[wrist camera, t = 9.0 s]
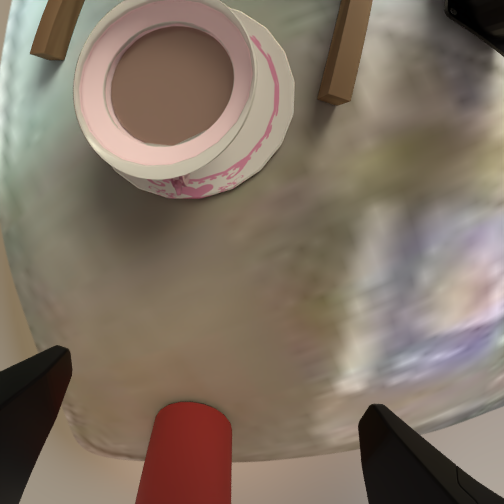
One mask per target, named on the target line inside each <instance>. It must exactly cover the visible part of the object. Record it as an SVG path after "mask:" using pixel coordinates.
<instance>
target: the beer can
mask: <svg viewBox="0 0 504 504" xmlns="http://www.w3.org/2000/svg"><path fill="white" fill-rule="evenodd" d="M231 464H232V428H231V423H230V422H229V421H228V419H227V418H226V417H225V415H224V414H222V413H221V412H219V411H218V410H217V409H215V408H213V407H210V406H208V405H206V404H202V403H197V402H177V403H173V404H169V405H168V406H166V407H164V408H163V409H161V410H160V411H159V413H158V414H157V416H156V418H155V422H154V426H153V430H152V434H151V438H150V442H149V446H148V450H147V454H146V458H145V463H144V467H143V471H142V475H141V480H140V485H139V489H138V493H137V497H136V502H135V504H231Z"/></svg>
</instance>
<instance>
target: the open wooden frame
mask: <svg viewBox="0 0 504 504" xmlns="http://www.w3.org/2000/svg"><path fill="white" fill-rule="evenodd" d="M84 1H85V0H48V2H47V5H46V8H45V10H44V13H43V15H42V18H41V21H40V24H39V26H38V29H37V32H36V35H35V38H34V41H33V45H32V48H31V51H30V54H31V55H35V56H38V57H41V58H44V59H47V60H64V59H65V56H66V52H67V49H68V46H69V43H70V39H71V36H72V33H73V30H74V27H75V25H76V22H77V19H78V16H79V14H80V11H81V8H82V6H83V3H84ZM372 1H373V0H341V4H340V8H339V13H338V17H337V21H336V25H335V29H334V33H333V38H332V42H331V46H330V50H329V54H328V58H327V62H326V66H325V70H324V74H323V78H322V82H321V86H320V90H319V94H318V98H317V100H321V101H324V102H327V103H330V104H333V105H336V106H337V105H340V104H343V103H346V102H350V101H351V97H352V93H353V88H354V84H355V80H356V76H357V71H358V67H359V63H360V58H361V54H362V49H363V45H364V40H365V35H366V31H367V26H368V21H369V16H370V11H371V6H372Z"/></svg>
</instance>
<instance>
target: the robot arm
mask: <svg viewBox="0 0 504 504" xmlns="http://www.w3.org/2000/svg"><path fill="white" fill-rule="evenodd" d="M444 11H445V14H446V15H447V17H449V18H450V19H451V20H453V21H455V22H456V23H458V24H459V25H461V26H462V27H464V28H465V29H467V30H468V31H470V32H471V33H473V34H474V35H476V36H477V37H478V38H480V39H481V40H483V41H484V42H485V43H487V44H488V45H489V46H491V47H492V48H493V49H495V50H496V51H497V52H498V53H500V54H501V55H502V56H503V57H504V0H445V6H444ZM451 11H452V12H453V14H452V12H451ZM71 377H72V362H71V354H70V350H69V349H68V348H65V347H62V346H59V345H56V346H53V347H51V348H49V349H47V350H45V351H43V352H41V353H38V354H36V355H34V356H32V357H30V358H28V359H26V360H24V361H22V362H20V363H17V364H15V365H13V366H11V367H9V368H7V369H5V370H3V371H0V504H19V502H20V499H21V497H22V494H23V492H24V489H25V487H26V484H27V482H28V480H29V477H30V475H31V472H32V470H33V468H34V465H35V463H36V461H37V459H38V456H39V454H40V452H41V450H42V447H43V445H44V443H45V441H46V439H47V437H48V434H49V433H50V430H51V428H52V426H53V424H54V422H55V420H56V418H57V415H58V412H59V409H60V407H61V404H62V401H63V398H64V396H65V393H66V390H67V387H68V385H69V382H70V379H71ZM358 431H359V441H360V451H361V462H362V470H363V475H364V481H365V486H366V491H367V497H368V502H369V504H504V498H502V497H501V496H499V495H497V494H496V493H494V492H493V491H491V490H490V489H488V488H487V487H485V486H484V485H482V484H481V483H479V482H478V481H476V480H475V479H473V478H472V477H471V476H470V475H468V474H467V473H466V472H464V471H463V470H462V469H461V468H459V467H458V466H456V464H454V463H453V462H452V461H451V460H449V459H448V458H447V457H446V456H445V455H443V454H442V453H441V452H440V451H438V450H437V449H436V448H435V447H434V446H432V445H431V444H430V443H429V442H427V441H426V440H425V439H424V438H422V437H421V436H420V435H419V434H418V433H417V432H416V431H414V430H413V429H412V428H411V427H410V426H408V425H407V424H406V423H405V422H404V421H402V420H401V419H400V418H399V417H398V416H396V415H395V414H394V413H393V412H392V411H391V410H389V409H388V408H387V407H386V406H385V405H383V404H371V405H370V406H369V407H368V409H367V410H366V412H365V413H364V415H363V416H362V418H361V419H360V421H359V425H358Z"/></svg>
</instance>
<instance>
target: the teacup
mask: <svg viewBox="0 0 504 504" xmlns="http://www.w3.org/2000/svg"><path fill="white" fill-rule="evenodd" d="M294 85H295V81H294V78H293V75H292V72H291V69H290V66H289V63H288V60H287V57H286V54H285V51H284V50H283V49H282V47H281V46H280V45H279V43H278V42H277V41H276V40H275V38H274V37H273V36H272V35H271V33H270V32H269V31H268V30H267V28H266V27H264V26H263V25H261V24H260V23H258V22H257V21H255V20H254V19H252V18H251V17H249V16H247V15H246V14H244V13H243V12H241V11H239V10H235V9H232V8H229V7H228V6H226V5H225V4H224V3H223V2H221V1H220V0H124V1H123V2H121V3H120V4H118V5H117V6H116V7H114V8H113V9H112V10H111V11H109V12H108V13H107V14H106V15H105V16H104V17H103V18H102V19H101V20H100V21H99V23H98V24H97V25H96V26H95V28H94V29H93V31H92V32H91V34H90V35H89V37H88V39H87V40H86V42H85V44H84V46H83V48H82V50H81V53H80V55H79V58H78V61H77V65H76V69H75V74H74V81H73V101H74V108H75V113H76V117H77V120H78V123H79V126H80V128H81V131H82V133H83V135H84V137H85V138H86V140H87V142H88V143H89V144H90V146H91V147H92V149H93V150H94V151H95V152H96V153H97V154H98V155H99V156H100V157H101V158H102V159H103V160H104V161H105V162H107V163H108V164H109V165H111V166H112V168H113V169H114V171H115V172H117V173H118V174H119V175H121V176H122V177H124V178H125V179H126V180H128V181H129V182H130V183H132V184H133V185H134V186H136V187H137V188H139V189H141V190H144V191H147V192H150V193H154V194H157V195H160V196H163V197H166V198H200V199H201V198H204V197H207V196H211V195H214V194H217V193H220V192H224V191H227V190H231V189H233V188H235V187H236V186H238V185H239V184H241V183H242V182H244V181H245V180H247V179H248V178H250V177H251V176H253V175H254V174H256V173H257V172H259V171H260V170H261V169H262V168H263V167H264V165H265V164H266V163H267V162H268V160H269V159H270V158H271V157H272V155H273V154H274V153H275V152H276V151H277V149H278V148H279V147H280V146H281V144H282V142H283V140H284V137H285V134H286V132H287V129H288V127H289V124H290V121H291V119H292V116H293V114H294Z"/></svg>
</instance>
